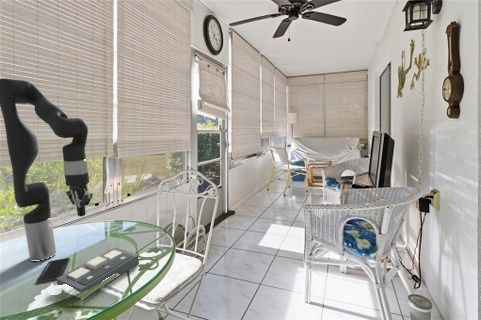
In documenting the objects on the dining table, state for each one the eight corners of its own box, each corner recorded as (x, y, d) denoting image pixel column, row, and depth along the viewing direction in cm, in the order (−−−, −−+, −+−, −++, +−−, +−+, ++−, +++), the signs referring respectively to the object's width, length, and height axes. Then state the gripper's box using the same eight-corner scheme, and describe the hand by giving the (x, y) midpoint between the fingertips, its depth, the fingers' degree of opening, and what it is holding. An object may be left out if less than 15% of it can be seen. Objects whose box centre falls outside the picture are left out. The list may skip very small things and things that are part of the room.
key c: (103, 261, 105) (103, 255, 105) (114, 255, 109) (113, 249, 109) (112, 264, 103) (111, 258, 102) (122, 258, 107) (122, 252, 107)
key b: (87, 268, 99) (86, 262, 98) (99, 261, 103) (98, 256, 103) (95, 271, 96) (94, 265, 96) (107, 264, 101) (106, 259, 100)
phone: (35, 282, 94) (48, 261, 108) (36, 284, 95) (49, 263, 108) (61, 277, 97) (70, 257, 111) (61, 279, 97) (71, 259, 111)
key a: (68, 280, 93) (67, 274, 92) (82, 273, 97) (81, 267, 97) (77, 284, 90) (76, 278, 90) (90, 276, 95) (90, 270, 94)
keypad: (57, 288, 92) (56, 277, 91) (116, 255, 113) (115, 246, 112) (82, 300, 86) (81, 288, 85) (139, 263, 107) (138, 253, 106)
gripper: (55, 172, 96) (61, 216, 99) (77, 175, 90) (83, 222, 93) (75, 168, 102) (80, 210, 105) (97, 171, 97) (102, 215, 99)
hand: (81, 215), depth 99 cm, fingers closed
